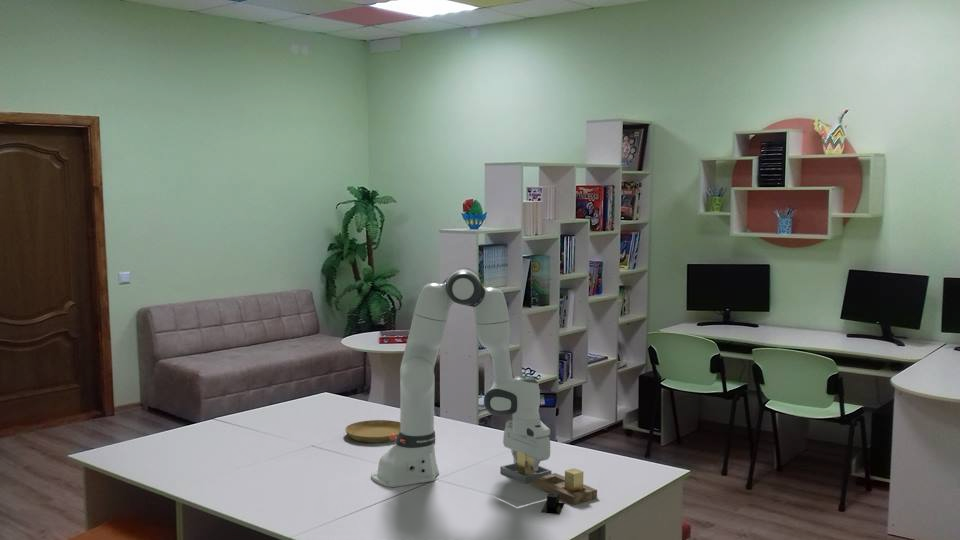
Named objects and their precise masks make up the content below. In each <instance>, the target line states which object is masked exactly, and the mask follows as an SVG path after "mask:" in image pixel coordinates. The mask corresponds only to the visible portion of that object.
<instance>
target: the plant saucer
mask: <svg viewBox="0 0 960 540" xmlns="http://www.w3.org/2000/svg"><path fill="white" fill-rule="evenodd" d="M344 430H345V433H346V435H348V437H350V438H351V439H353V440H355V441H357V442H362V443H366V444H367V443H368V444H369V443H370V444H371V443H372V444H378V443H379V444H380V443H381V444H382V443H383V444H384V443H389V442H394V440H391V439H390V435H391V434H392V433H393V434H395V435H397V436H398V434H399V432H400V421H396V420H390V419H389V420H387V419H373V420H372V419H370V420H362V421H356V422H353V423H350V424H349V425H347V426H345V428H344Z"/></svg>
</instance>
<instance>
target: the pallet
mask: <svg viewBox="0 0 960 540" xmlns="http://www.w3.org/2000/svg"><path fill="white" fill-rule="evenodd" d="M531 487H534V488H536V489H539V490H541V491H544V492H546V493H548V494H549V492H554V493H559V500H561V501H564V503H568V504H569V505H573V506H574V505H578V504H581V503H584V502H587V501H591V500H594V498H595V499H597V498H598V489H597V488H594V487H591V486H589V485H586V484H584V483H583V491H579V492H576V493H572V492H570V491H567V490H565V475H561V474H559V473H557V472H553V473H551V474H550V475H546V476H542V477H538V478H535V479H532V482H531Z"/></svg>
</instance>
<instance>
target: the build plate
mask: <svg viewBox="0 0 960 540" xmlns="http://www.w3.org/2000/svg"><path fill="white" fill-rule="evenodd" d="M565 504H566V502H560V499H559V493H554V492H549V493H548V494H547V495H546V501H545V504H544V505H543V507H542V509H541V511H540V513H542V514H551V515H560V514H561V512H562V510H563V508H564V506H565Z"/></svg>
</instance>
